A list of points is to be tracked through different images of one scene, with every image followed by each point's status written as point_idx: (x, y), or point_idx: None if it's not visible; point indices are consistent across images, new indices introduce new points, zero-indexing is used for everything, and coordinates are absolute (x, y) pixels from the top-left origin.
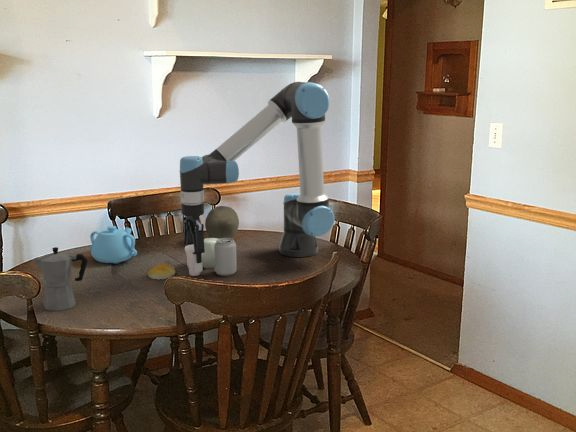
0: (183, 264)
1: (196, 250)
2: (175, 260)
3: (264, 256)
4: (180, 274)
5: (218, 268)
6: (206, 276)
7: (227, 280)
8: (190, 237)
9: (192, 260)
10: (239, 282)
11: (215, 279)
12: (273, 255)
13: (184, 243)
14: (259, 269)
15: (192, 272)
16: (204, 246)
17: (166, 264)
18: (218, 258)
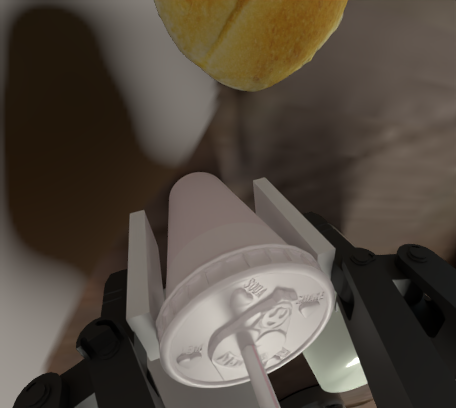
0: (364, 154)
1: (58, 400)
2: (432, 124)
3: (300, 368)
4: (226, 121)
5: None
6: (158, 243)
7: (82, 318)
8: (386, 387)
9: (171, 246)
10: (49, 354)
11: (103, 278)
12: (297, 381)
13: (409, 250)
14: None
15: (173, 194)
16: (341, 322)
17: (290, 26)
18: (159, 371)
